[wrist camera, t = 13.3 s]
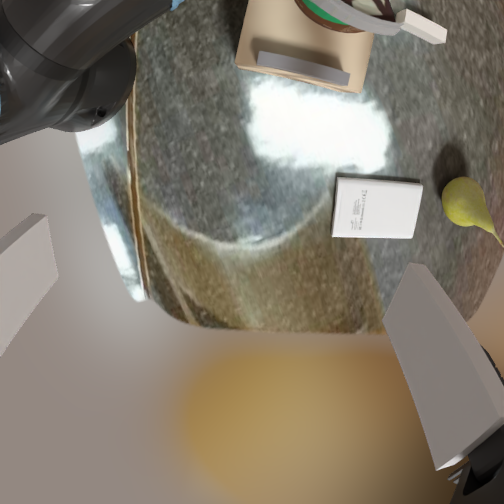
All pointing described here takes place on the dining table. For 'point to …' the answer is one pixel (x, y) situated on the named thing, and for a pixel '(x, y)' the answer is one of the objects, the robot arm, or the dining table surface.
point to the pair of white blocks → (421, 26)
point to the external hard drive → (375, 208)
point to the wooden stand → (301, 47)
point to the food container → (352, 15)
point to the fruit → (467, 204)
